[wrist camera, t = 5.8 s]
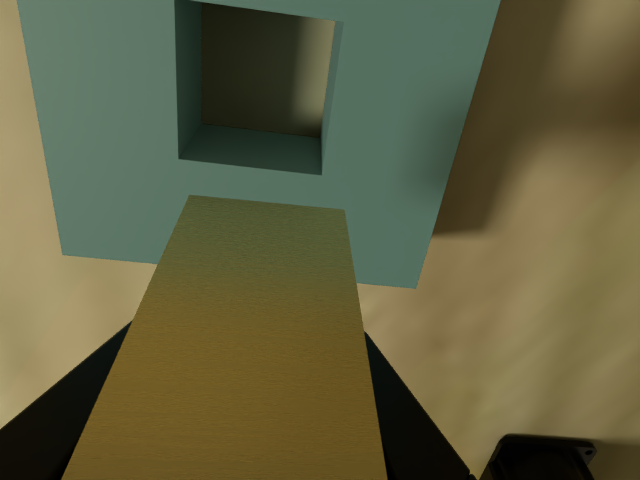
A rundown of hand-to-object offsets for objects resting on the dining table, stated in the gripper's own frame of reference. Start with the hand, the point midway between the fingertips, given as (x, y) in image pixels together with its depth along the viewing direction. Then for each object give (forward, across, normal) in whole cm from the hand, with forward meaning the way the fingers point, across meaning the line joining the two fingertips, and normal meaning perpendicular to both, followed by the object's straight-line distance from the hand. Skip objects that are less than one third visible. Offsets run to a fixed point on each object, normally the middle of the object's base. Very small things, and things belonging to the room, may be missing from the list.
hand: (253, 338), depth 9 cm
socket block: (+13, +1, -2) cm, 13 cm away
